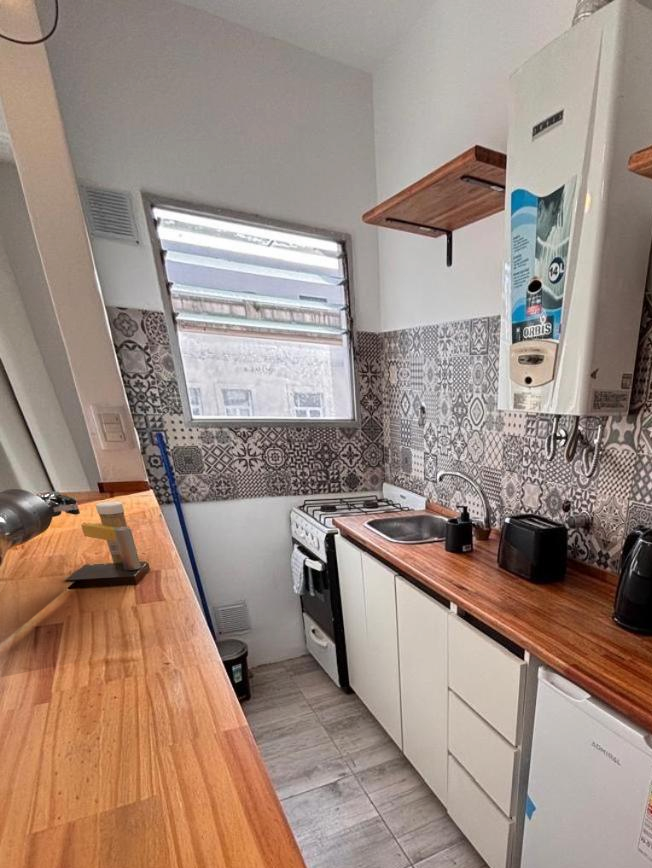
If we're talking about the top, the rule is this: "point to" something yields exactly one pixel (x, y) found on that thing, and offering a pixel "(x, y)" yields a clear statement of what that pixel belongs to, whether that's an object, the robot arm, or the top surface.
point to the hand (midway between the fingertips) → (56, 497)
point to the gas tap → (118, 535)
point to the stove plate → (106, 575)
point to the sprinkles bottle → (112, 523)
